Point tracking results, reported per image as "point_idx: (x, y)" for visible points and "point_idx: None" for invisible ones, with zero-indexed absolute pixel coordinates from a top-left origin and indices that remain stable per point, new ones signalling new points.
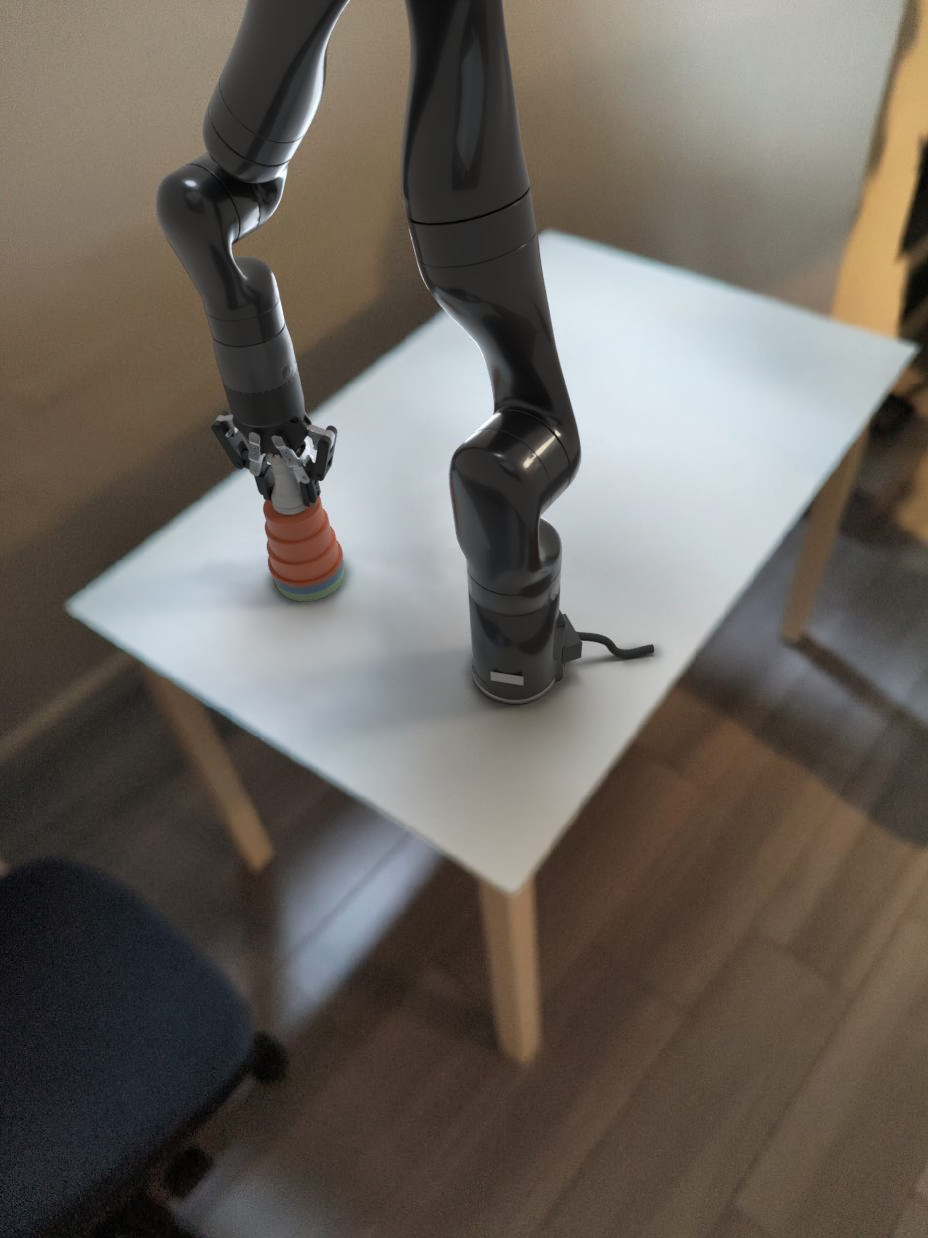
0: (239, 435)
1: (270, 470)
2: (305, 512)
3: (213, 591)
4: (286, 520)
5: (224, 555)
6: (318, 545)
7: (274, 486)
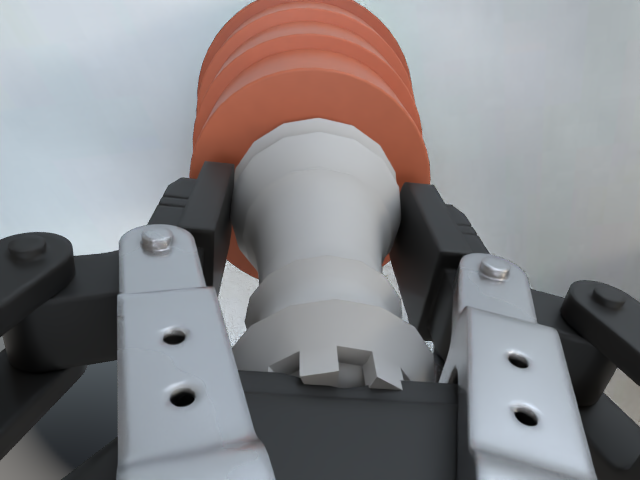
0: None
1: (217, 240)
2: None
3: (84, 165)
4: None
5: (37, 34)
6: None
7: (249, 245)
